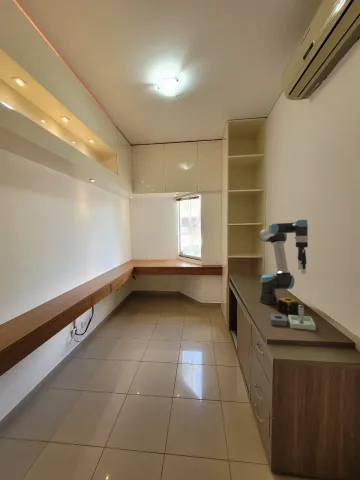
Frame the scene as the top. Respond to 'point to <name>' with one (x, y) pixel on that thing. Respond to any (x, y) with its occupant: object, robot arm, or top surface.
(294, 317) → the tray
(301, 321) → the pin
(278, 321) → the socket block
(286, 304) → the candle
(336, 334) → the top surface
